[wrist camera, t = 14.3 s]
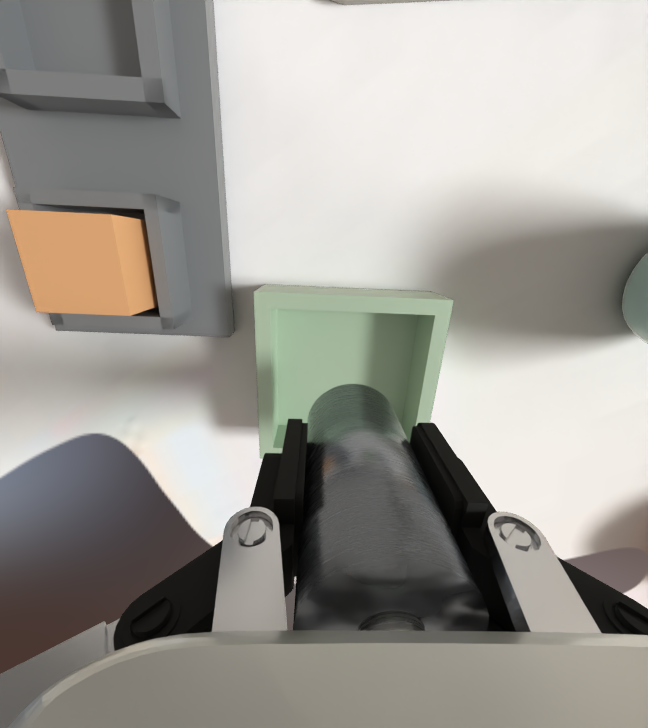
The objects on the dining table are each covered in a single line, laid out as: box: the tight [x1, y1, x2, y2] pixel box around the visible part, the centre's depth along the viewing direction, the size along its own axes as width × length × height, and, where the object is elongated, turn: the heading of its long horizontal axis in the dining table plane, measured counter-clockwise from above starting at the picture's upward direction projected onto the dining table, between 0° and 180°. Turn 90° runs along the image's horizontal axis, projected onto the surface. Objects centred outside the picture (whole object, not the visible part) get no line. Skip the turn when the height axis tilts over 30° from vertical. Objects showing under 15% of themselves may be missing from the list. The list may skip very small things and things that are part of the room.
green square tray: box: [254, 284, 454, 458], centre depth 18 cm, size 10×10×3 cm
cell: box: [293, 384, 489, 631], centre depth 10 cm, size 4×4×9 cm
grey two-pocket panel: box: [0, 0, 234, 337], centre depth 14 cm, size 18×10×4 cm, turn 178°
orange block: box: [6, 209, 158, 316], centre depth 13 cm, size 4×4×2 cm
